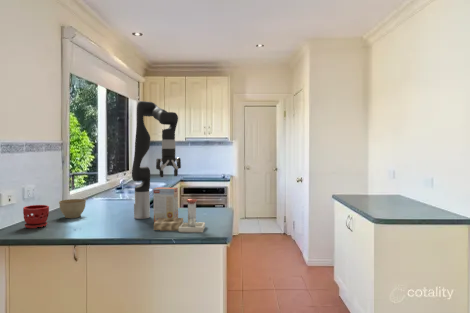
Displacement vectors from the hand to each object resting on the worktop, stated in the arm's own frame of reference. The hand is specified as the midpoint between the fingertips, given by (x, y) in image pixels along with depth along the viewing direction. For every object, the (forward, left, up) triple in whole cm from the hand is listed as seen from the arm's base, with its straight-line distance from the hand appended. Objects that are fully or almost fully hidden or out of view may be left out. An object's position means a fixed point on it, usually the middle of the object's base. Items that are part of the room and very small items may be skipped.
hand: (168, 176), depth 198 cm
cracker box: (-6, +18, -30) cm, 35 cm away
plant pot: (-79, +5, -30) cm, 84 cm away
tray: (+13, -3, -29) cm, 32 cm away
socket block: (-1, +2, -29) cm, 29 cm away
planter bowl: (-71, +33, -30) cm, 84 cm away
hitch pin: (+13, -3, -29) cm, 32 cm away
